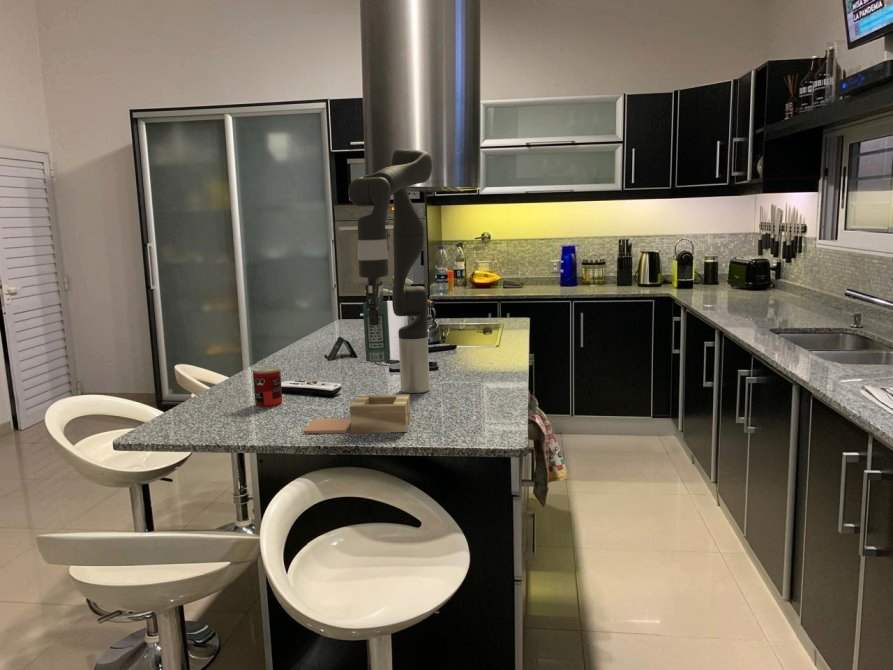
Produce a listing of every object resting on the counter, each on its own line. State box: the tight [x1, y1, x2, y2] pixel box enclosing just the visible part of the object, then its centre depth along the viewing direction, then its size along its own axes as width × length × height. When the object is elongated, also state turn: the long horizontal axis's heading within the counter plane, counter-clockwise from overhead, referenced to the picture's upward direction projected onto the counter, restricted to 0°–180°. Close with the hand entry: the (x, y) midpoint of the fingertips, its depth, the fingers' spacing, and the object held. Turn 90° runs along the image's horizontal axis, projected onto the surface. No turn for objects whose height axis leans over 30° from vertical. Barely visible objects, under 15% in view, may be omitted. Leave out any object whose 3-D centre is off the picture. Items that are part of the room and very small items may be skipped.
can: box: [362, 300, 391, 363], centre depth 182 cm, size 6×6×15 cm
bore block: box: [349, 394, 412, 434], centre depth 185 cm, size 12×14×7 cm
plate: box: [303, 418, 351, 434], centre depth 187 cm, size 11×11×1 cm
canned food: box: [252, 366, 283, 408], centre depth 213 cm, size 8×8×11 cm
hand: (376, 323), depth 182 cm, fingers closed on can, 6 cm apart
